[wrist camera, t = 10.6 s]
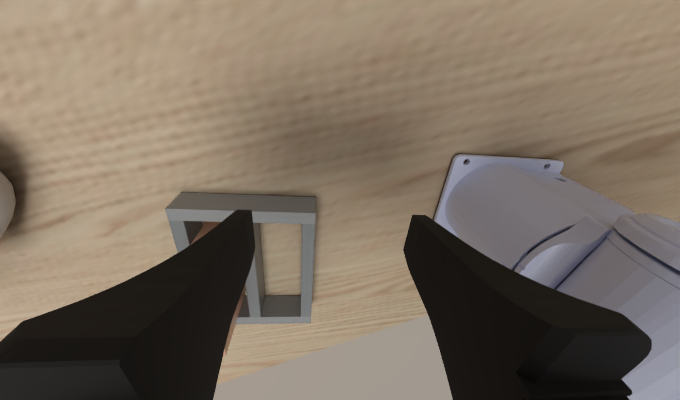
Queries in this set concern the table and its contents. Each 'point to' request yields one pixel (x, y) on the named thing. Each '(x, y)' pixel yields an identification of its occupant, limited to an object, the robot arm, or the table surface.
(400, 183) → the table surface
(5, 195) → the donut
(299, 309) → the dish rack
